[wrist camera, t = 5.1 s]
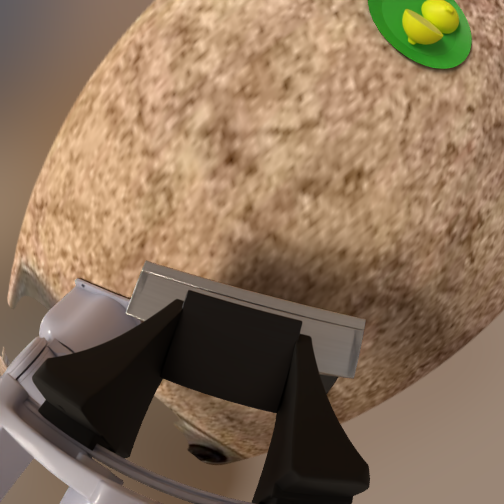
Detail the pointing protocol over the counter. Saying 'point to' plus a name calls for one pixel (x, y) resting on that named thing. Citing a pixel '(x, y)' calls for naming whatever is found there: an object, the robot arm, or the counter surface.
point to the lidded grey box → (241, 337)
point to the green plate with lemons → (424, 30)
